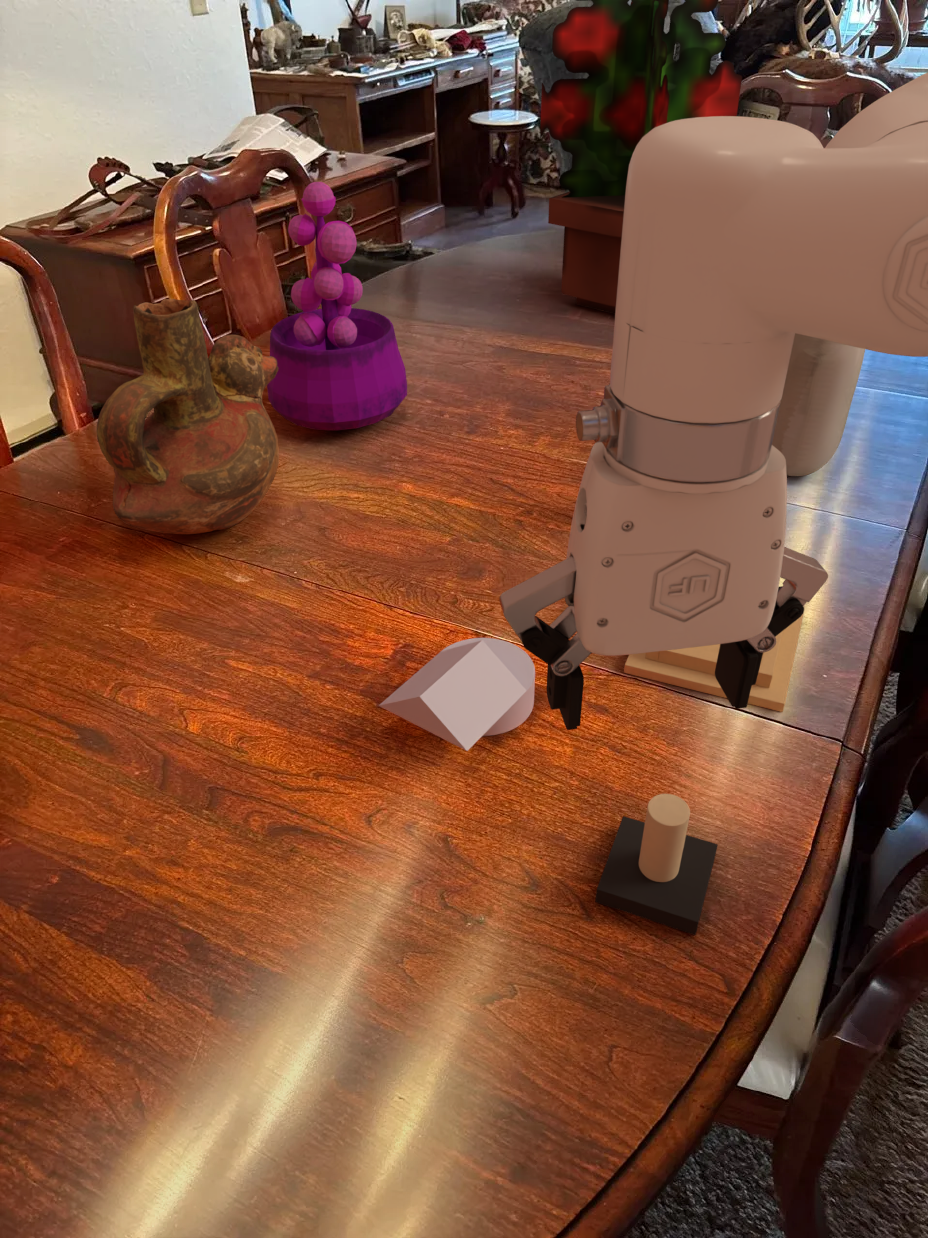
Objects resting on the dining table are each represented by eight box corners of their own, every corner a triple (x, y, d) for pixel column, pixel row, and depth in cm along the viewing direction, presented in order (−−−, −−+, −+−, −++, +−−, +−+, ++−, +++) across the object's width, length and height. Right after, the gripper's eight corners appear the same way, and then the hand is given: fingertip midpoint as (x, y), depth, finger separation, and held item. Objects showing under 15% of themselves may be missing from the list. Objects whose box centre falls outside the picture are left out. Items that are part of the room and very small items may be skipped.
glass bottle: (837, 491, 109) (903, 244, 92) (748, 484, 110) (796, 240, 93) (828, 453, 116) (887, 218, 99) (745, 446, 118) (789, 215, 101)
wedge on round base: (467, 780, 73) (553, 691, 82) (466, 719, 69) (556, 631, 78) (381, 734, 78) (470, 654, 86) (375, 674, 74) (469, 595, 82)
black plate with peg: (714, 857, 67) (731, 787, 63) (695, 935, 62) (711, 865, 57) (621, 829, 69) (630, 759, 65) (595, 902, 64) (603, 832, 60)
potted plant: (534, 305, 161) (544, -4, 134) (604, 274, 175) (626, -13, 147) (644, 333, 150) (679, 2, 123) (709, 298, 163) (754, -9, 136)
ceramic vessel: (341, 481, 113) (319, 272, 97) (198, 591, 95) (143, 356, 79) (232, 452, 119) (195, 251, 104) (78, 550, 101) (6, 325, 86)
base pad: (801, 620, 89) (807, 599, 88) (782, 712, 79) (788, 690, 78) (659, 589, 94) (662, 568, 92) (623, 672, 84) (625, 651, 82)
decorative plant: (433, 403, 130) (424, 172, 112) (363, 459, 117) (340, 208, 99) (322, 380, 137) (297, 159, 119) (244, 431, 124) (202, 191, 106)
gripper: (520, 483, 38) (513, 769, 49) (908, 447, 40) (822, 729, 51) (488, 407, 44) (488, 677, 54) (828, 379, 46) (765, 644, 56)
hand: (648, 702), depth 53 cm, fingers open, 9 cm apart
